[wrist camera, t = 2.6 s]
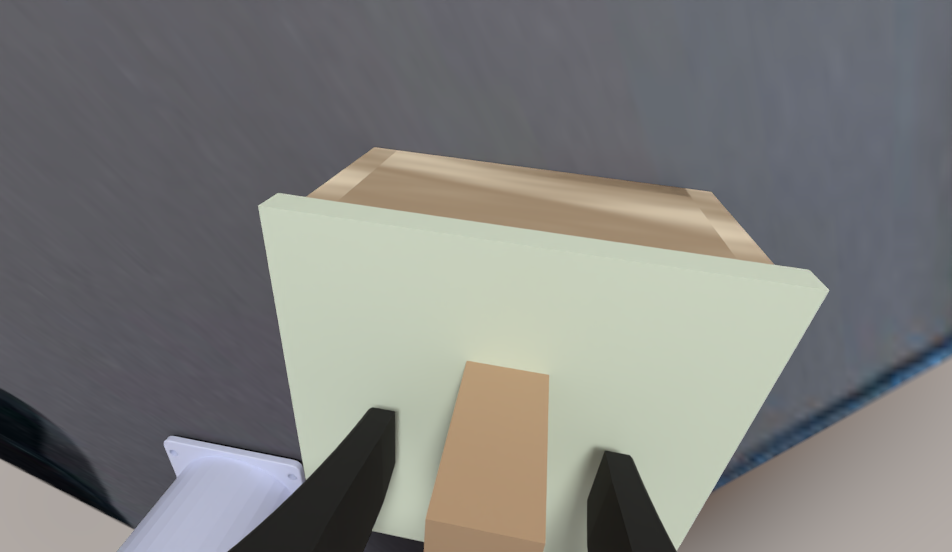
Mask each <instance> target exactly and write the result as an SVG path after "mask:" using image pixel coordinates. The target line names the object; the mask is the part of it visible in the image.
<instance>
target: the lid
mask: <svg viewBox="0 0 952 552" xmlns="http://www.w3.org/2000/svg"><path fill="white" fill-rule="evenodd" d="M258 208H259V213H260V219H261V225H262V231H263V236H264V242H265V248H266V254H267V259H268V265H269V271H270V277H271V282H272V288H273V294H274V300H275V305H276V311H277V317H278V323H279V328H280V334H281V340H282V346H283V352H284V357H285V363H286V369H287V375H288V380H289V386H290V392H291V398H292V403H293V409H294V415H295V421H296V426H297V432H298V438H299V444H300V449H301V455H302V461H303V467H304V472H305V478H306V480H307V479H308V478H309V477H310V476H311V475H312V474H313V472H314V471H315V470H316V469H317V468H318V467H319V466H320V465H321V464H322V463H323V462H324V461H325V460H326V459H327V458H328V456H329V455H330V454H331V453H332V452H333V451H334V450H335V449H336V448H337V447H338V445H339V444H340V443H341V442H342V441H343V440H344V439H345V437H346V436H347V435H348V434H349V433H350V432H351V430H352V429H353V428H354V427H355V426H356V424H357V423H358V422H359V421H360V419H361V418H362V417H363V416H364V414H365V413H366V412H367V411H368V409H370V408H372V407H374V408H380V409H385V410H391V411H395V461H396V462H395V466H394V469H393V473H392V476H391V480H390V483H389V486H388V490H387V493H386V496H385V499H384V503H383V505H382V508H381V510H380V513H379V515H378V517H377V520H376V522H375V525H374V527H373V530H372V531H375V532H379V533H384V534H389V535H394V536H398V537H403V538H408V539H413V540H417V541H422V542H424V552H588V549H587V499H588V496H589V493H590V490H591V488H592V485H593V482H594V479H595V476H596V474H597V471H598V468H599V465H600V462H601V460H602V457H603V454H604V451H605V450H606V451H611V452H617V453H622V454H627V455H630V456H631V457H632V458H633V460H634V463H635V465H636V467H637V470H638V472H639V474H640V477H641V479H642V481H643V483H644V486H645V488H646V490H647V492H648V495H649V497H650V499H651V501H652V503H653V505H654V507H655V509H656V512H657V514H658V516H659V518H660V520H661V522H662V524H663V526H664V528H665V530H666V532H667V534H668V536H669V538H670V539H671V541H672V543H673V545H674V547H675V549H676V551H677V549H678V548H679V546H680V544H681V543H682V541H683V539H684V537H685V536H686V534H687V532H688V531H689V529H690V527H691V526H692V524H693V522H694V520H695V519H696V517H697V515H698V513H699V512H700V510H701V509H702V507H703V505H704V503H705V502H706V500H707V498H708V497H709V495H710V493H711V491H712V490H713V488H714V486H715V485H716V483H717V481H718V480H719V478H720V476H721V474H722V473H723V471H724V469H725V468H726V466H727V464H728V462H729V461H730V459H731V457H732V456H733V454H734V452H735V450H736V449H737V447H738V445H739V444H740V442H741V440H742V439H743V437H744V435H745V433H746V432H747V430H748V428H749V427H750V425H751V423H752V421H753V420H754V418H755V416H756V415H757V413H758V411H759V410H760V408H761V406H762V404H763V403H764V401H765V399H766V398H767V396H768V394H769V392H770V391H771V389H772V387H773V386H774V384H775V382H776V380H777V379H778V377H779V375H780V374H781V372H782V370H783V369H784V367H785V365H786V363H787V362H788V360H789V358H790V357H791V355H792V353H793V351H794V350H795V348H796V346H797V345H798V343H799V341H800V340H801V338H802V336H803V334H804V333H805V331H806V329H807V328H808V326H809V324H810V322H811V321H812V319H813V317H814V316H815V314H816V312H817V310H818V309H819V307H820V305H821V304H822V302H823V300H824V299H825V297H826V295H827V293H828V292H829V289H828V288H827V287H826V286H825V285H824V284H823V283H822V282H821V281H820V280H819V279H818V278H817V277H816V276H815V275H814V274H813V273H812V272H811V271H810V270H806V269H799V268H792V267H785V266H778V265H772V264H765V263H758V262H751V261H744V260H737V259H730V258H723V257H716V256H709V255H703V254H696V253H689V252H682V251H675V250H668V249H661V248H654V247H647V246H640V245H633V244H627V243H620V242H613V241H606V240H599V239H592V238H585V237H578V236H571V235H564V234H557V233H551V232H544V231H537V230H530V229H523V228H516V227H509V226H502V225H495V224H488V223H481V222H475V221H468V220H461V219H454V218H447V217H440V216H433V215H426V214H419V213H412V212H405V211H399V210H392V209H385V208H378V207H371V206H364V205H357V204H350V203H343V202H336V201H329V200H323V199H316V198H309V197H302V196H295V195H288V194H281V193H277V194H276V195H274V196H273V197H271V198H270V199H268V200H266V201H265V202H263V203H262V204H260V205H259V206H258Z"/></svg>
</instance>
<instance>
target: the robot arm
mask: <svg viewBox="0 0 952 552" xmlns="http://www.w3.org/2000/svg"><path fill="white" fill-rule="evenodd" d="M164 447H165V449H166V452H167V454H168V456H169V459H170V461H171V464H172V466H173V469H174V471H175V474H176V476H177V479H176V480H175V481H174V482H173V483H172V485H171V486H170V487H169V488H168V489H167V491H166V492H165V493H164V494H163V496H162V497H161V498H160V499H159V500H158V502H157V503H156V504H155V505H154V507H153V508H152V509H151V510H150V511H149V513H148V514H147V515H146V516H145V518H144V519H143V520H142V521H141V522H140V524H139V525H138V526H137V527H136V528H135V530H134V531H133V532H132V533H131V535H130V536H129V537H128V538H127V540H126V541H125V542H124V543H123V544H122V546H121V547H120V548H119V549H118V550H117V552H363V551H364V549H365V547H366V544H367V542H368V539H369V537H370V534H371V532H372V530H373V527H374V525H375V522H376V520H377V517H378V515H379V513H380V510H381V508H382V505H383V503H384V499H385V496H386V493H387V490H388V486H389V483H390V480H391V476H392V473H393V469H394V466H395V462H396V461H395V411H391V410H385V409H380V408H374V407H372V408H370V409H368V411H367V412H366V413H365V414H364V416H363V417H362V418H361V419H360V421H359V422H358V423H357V424H356V426H355V427H354V428H353V429H352V430H351V432H350V433H349V434H348V435H347V436H346V437H345V439H344V440H343V441H342V442H341V443H340V444H339V445H338V447H337V448H336V449H335V450H334V451H333V452H332V453H331V454H330V455H329V456H328V458H327V459H326V460H325V461H324V462H323V463H322V464H321V465H320V466H319V467H318V468H317V469H316V470H315V471H314V472H313V474H312V475H311V476H310V477H309V478H308V479H307V480H306V481H305V476H304V470H303V466H302V464H301V463H300V462H298V461H296V460H293V459H288V458H283V457H278V456H273V455H268V454H263V453H258V452H253V451H248V450H243V449H237V448H232V447H227V446H222V445H217V444H212V443H207V442H202V441H197V440H192V439H187V438H182V437H177V436H169V437H168V438H167V439H166V440H165V441H164ZM587 549H588V552H677V551H676V549H675V547H674V545H673V543H672V541H671V539H670V538H669V536H668V534H667V532H666V530H665V528H664V526H663V524H662V522H661V520H660V518H659V516H658V514H657V512H656V509H655V507H654V505H653V503H652V501H651V499H650V497H649V495H648V492H647V490H646V488H645V486H644V483H643V481H642V479H641V477H640V474H639V472H638V470H637V467H636V465H635V463H634V460H633V458H632V457H631V456H630V455H627V454H622V453H617V452H611V451H606V450H605V451H604V454H603V457H602V460H601V462H600V465H599V468H598V471H597V474H596V476H595V479H594V482H593V485H592V488H591V490H590V493H589V496H588V499H587Z"/></svg>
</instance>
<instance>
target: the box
mask: <svg viewBox="0 0 952 552" xmlns="http://www.w3.org/2000/svg"><path fill="white" fill-rule="evenodd" d="M307 197H309V198H316V199H323V200H329V201H336V202H343V203H350V204H357V205H364V206H371V207H378V208H385V209H392V210H399V211H405V212H412V213H419V214H426V215H433V216H440V217H447V218H454V219H461V220H468V221H475V222H481V223H488V224H495V225H502V226H509V227H516V228H523V229H530V230H537V231H544V232H551V233H557V234H564V235H571V236H578V237H585V238H592V239H599V240H606V241H613V242H620V243H627V244H633V245H640V246H647V247H654V248H661V249H668V250H675V251H682V252H689V253H696V254H703V255H709V256H716V257H723V258H730V259H737V260H744V261H751V262H758V263H765V264H772V265H774V264H773V263H772V261H771V260H770V259H769V258H768V257H767V256H766V255H765V253H764V252H763V251H762V250H761V249H760V248H759V247H758V245H757V244H756V243H755V242H754V241H753V240H752V238H751V237H750V236H749V235H748V234H747V233H746V232H745V230H744V229H743V228H742V227H741V226H740V225H739V223H738V222H737V221H736V220H735V219H734V218H733V217H732V215H731V214H730V213H729V212H728V211H727V210H726V209H725V207H724V206H723V205H722V204H721V203H720V202H719V200H718V199H717V198H716V197H715V196H714V195H713V194H712V192H708V191H701V190H693V189H686V188H678V187H670V186H663V185H655V184H648V183H640V182H633V181H625V180H618V179H610V178H603V177H595V176H587V175H580V174H572V173H565V172H557V171H550V170H542V169H535V168H527V167H520V166H512V165H504V164H497V163H489V162H482V161H474V160H467V159H459V158H452V157H444V156H437V155H429V154H421V153H414V152H406V151H399V150H391V149H384V148H376V147H374V148H373V149H371V150H370V151H369V152H367V153H366V154H364V155H363V156H362V157H360V158H359V159H358V160H356V161H355V162H353V163H352V164H351V165H349V166H348V167H347V168H345V169H344V170H342V171H341V172H340V173H338V174H337V175H336V176H334V177H333V178H331V179H330V180H329V181H327V182H326V183H325V184H323V185H322V186H320V187H319V188H318V189H316V190H315V191H313V192H312V193H311V194H309V195H308V196H307Z"/></svg>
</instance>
